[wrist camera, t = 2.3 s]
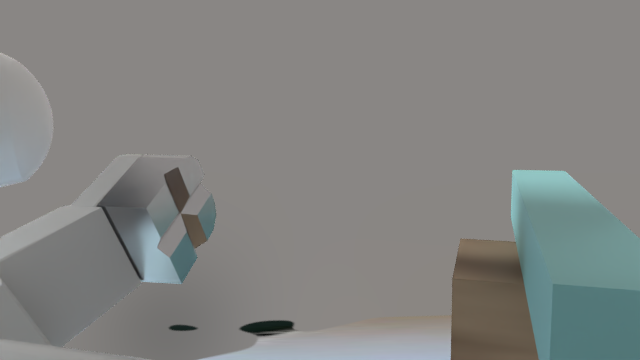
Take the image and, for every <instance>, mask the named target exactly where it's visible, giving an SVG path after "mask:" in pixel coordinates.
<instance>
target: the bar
mask: <svg viewBox="0 0 640 360" xmlns="http://www.w3.org/2000/svg"><path fill="white" fill-rule="evenodd" d="M512 172H513V174H512V202H511V220H512V225H513V230H514V235H515V240H516V245H517V251H518V256H519V261H520V266H521V271H522V276H523V281H524V286H525V292H526V297H527V302H528V307H529V312H530V317H531V322H532V327H533V333H534V338H535V343H536V348H537V353H538V358H539V360H640V238H638V237H637V236H636V235H635V234H634V233H633V232H632V231H631V230H629V229H628V228H627V227H626V226H625V225H624V224H623V223H622V222H621V221H620V220H618V219H617V218H616V217H615V216H614V215H613V214H612V213H611V212H610V211H608V210H607V209H606V208H605V207H604V206H603V205H602V204H601V203H600V202H598V201H597V200H596V199H595V198H594V197H593V196H592V195H590V193H589V192H587V191H586V190H585V189H584V188H583V187H582V186H581V185H579V183H577V182H576V181H575V180H574V179H573V178H572V177H571V176H570V175H569V174H567V173H566V172H565V171H535V170H513V171H512Z"/></svg>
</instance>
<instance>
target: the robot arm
mask: <svg viewBox="0 0 640 360" xmlns="http://www.w3.org/2000/svg"><path fill="white" fill-rule="evenodd" d="M52 136H53V115H52V111H51V107H50V103H49V101H48V98H47V96H46V94H45V92H44V90H43V88H42V87H41V85H40V84H39V82H38V81H37V79H36V78H35V77H34V76H33V75H32V74H31V72H30V71H29V70H27V69H26V68H25V67H24V66H23V65H22V64H21V63H19V62H18V61H17V60H15V59H13V58H11V57H9V56H7V55H5V54H2V53H1V52H0V187H4V186H7V185H12V184H16V183H20V182H24V181H26V180H28V179H29V178H30V177H31V176H32V175H33V174H34V173H35V172H36V170H37V169H38V168H39V167H40V165H41V164H42V162H43V161H44V159H45V157H46V155H47V153H48V151H49V148H50V145H51V141H52ZM203 177H204V172H203V170H202V167H201V165H200V163H199V160H198V159H196V158H194V157H192V156H178V155H148V154H147V155H143V154H124V155H121V156H117V157H116V158H115V159H114V160H113V161H112V162H111V163H110V164H109V165H108V166H107V168H106V169H105V170H104V171H103V172H102V173H101V174H100V175H99V176H98V177H97V178H96V179H95V180H94V182H92V183H91V184H90V186H89V187H88V188H87V189H86V190H85V191H84V192H83V193H82V194H81V195H80V196H79V197H78V198H77V199H76V200H75V202H74V203H73V204H72V205H71V206H62V207H60V208H58V209H56V210H54V211H52V212H50V213H48V214H46V215H44V216H42V217H40V218H38V219H36V220H34V221H32V222H30V223H28V224H26V225H24V226H22V227H20V228H18V229H16V230H14V231H12V232H10V233H8V234H6V235H4V236H2V237H0V360H151V359H143V358H136V357H129V356H122V355H115V354H108V353H100V352H93V351H86V350H79V349H72V348H65V347H63V346H64V345H65V344H66V343H67V342H69V341H70V340H71V339H72V338H74V337H75V336H76V335H78V334H79V333H80V332H81V331H83V330H84V329H85V328H86V327H88V326H89V325H90V324H91V323H93V322H94V321H95V320H97V319H98V318H99V317H100V316H102V315H103V314H104V313H105V312H107V311H108V310H109V309H110V308H112V307H113V306H114V305H116V304H117V303H118V302H119V301H121V300H122V299H123V298H124V297H125V296H127V295H128V294H129V293H131V292H132V291H133V290H134V289H136V288H137V287H138V286H139V285H141V284H142V283H141V282H158V283H176V284H182V283H183V281H184V279H185V278H186V276H187V274H188V272H189V271H190V269H191V267H192V266H193V264H194V262H195V261H196V259H197V254H196V250H195V248H197V247H198V246H200V245H201V244H203V243H204V242H206V241H207V240H208V238H209V237H210V235H211V233H212V231H213V229H214V223H215V218H216V209H215V202H214V199H213V197H212V194H211V192H209V191H208V190H207V189H206V188H205V187H204V186H203V185H202V184H201V181H202V179H203Z"/></svg>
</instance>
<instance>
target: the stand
mask: <svg viewBox="0 0 640 360" xmlns="http://www.w3.org/2000/svg"><path fill="white" fill-rule="evenodd" d="M451 360H539V358H538V353H537V348H536V343H535V338H534V333H533V327H532V322H531V317H530V312H529V307H528V302H527V297H526V292H525V286H524V281H523V276H522V271H521V266H520V261H519V256H518V251H517V245H516V242H509V241H493V240H492V241H491V240H475V239H460V244H459V249H458V254H457V259H456V264H455V269H454V273H453V278H452V329H451Z"/></svg>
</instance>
